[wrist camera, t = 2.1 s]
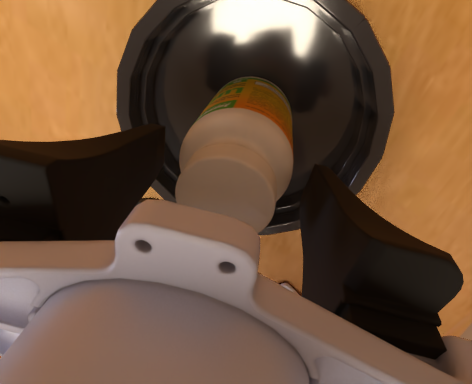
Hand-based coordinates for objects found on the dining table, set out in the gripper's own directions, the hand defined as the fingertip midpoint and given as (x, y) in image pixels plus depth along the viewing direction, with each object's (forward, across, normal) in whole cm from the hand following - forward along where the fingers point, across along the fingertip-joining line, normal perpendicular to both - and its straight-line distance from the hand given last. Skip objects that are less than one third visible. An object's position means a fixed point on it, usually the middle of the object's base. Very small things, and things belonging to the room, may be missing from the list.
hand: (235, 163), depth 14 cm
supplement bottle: (+7, 0, 0) cm, 7 cm away
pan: (+7, 0, 0) cm, 7 cm away
